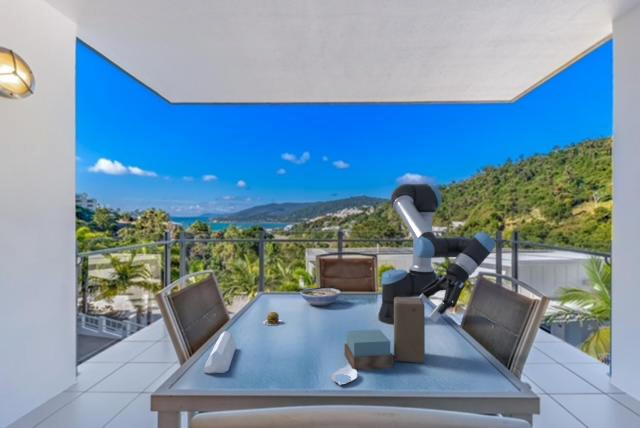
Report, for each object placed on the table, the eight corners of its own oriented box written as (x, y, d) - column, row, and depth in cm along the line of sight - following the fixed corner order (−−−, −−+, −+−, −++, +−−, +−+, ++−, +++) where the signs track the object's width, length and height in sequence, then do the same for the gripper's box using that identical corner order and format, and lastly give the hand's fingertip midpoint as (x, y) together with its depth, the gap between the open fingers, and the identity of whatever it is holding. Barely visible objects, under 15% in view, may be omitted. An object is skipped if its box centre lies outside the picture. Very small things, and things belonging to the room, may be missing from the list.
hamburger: (270, 330, 155) (270, 317, 155) (254, 324, 163) (254, 312, 163) (291, 324, 163) (291, 312, 163) (275, 319, 172) (275, 307, 172)
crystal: (233, 362, 109) (241, 336, 133) (212, 351, 108) (224, 327, 132) (220, 384, 109) (231, 354, 132) (200, 373, 108) (214, 345, 132)
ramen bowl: (309, 312, 182) (309, 296, 182) (291, 302, 202) (291, 288, 202) (350, 306, 193) (350, 291, 193) (329, 298, 214) (329, 284, 214)
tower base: (379, 354, 127) (379, 341, 127) (393, 369, 114) (393, 355, 114) (344, 356, 125) (344, 343, 125) (354, 372, 112) (354, 358, 112)
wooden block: (425, 364, 117) (424, 303, 117) (394, 361, 119) (394, 302, 119) (422, 353, 127) (422, 297, 127) (393, 351, 129) (393, 296, 129)
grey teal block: (379, 342, 126) (379, 329, 126) (390, 355, 114) (390, 341, 114) (346, 343, 125) (346, 330, 125) (354, 356, 113) (354, 342, 113)
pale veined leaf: (361, 371, 110) (360, 363, 110) (352, 392, 99) (351, 383, 99) (337, 370, 113) (336, 362, 113) (325, 390, 101) (325, 381, 101)
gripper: (490, 282, 113) (448, 332, 110) (449, 271, 138) (413, 312, 135) (475, 266, 112) (432, 316, 110) (436, 258, 137) (400, 299, 134)
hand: (422, 314), depth 122 cm, fingers open, 13 cm apart
